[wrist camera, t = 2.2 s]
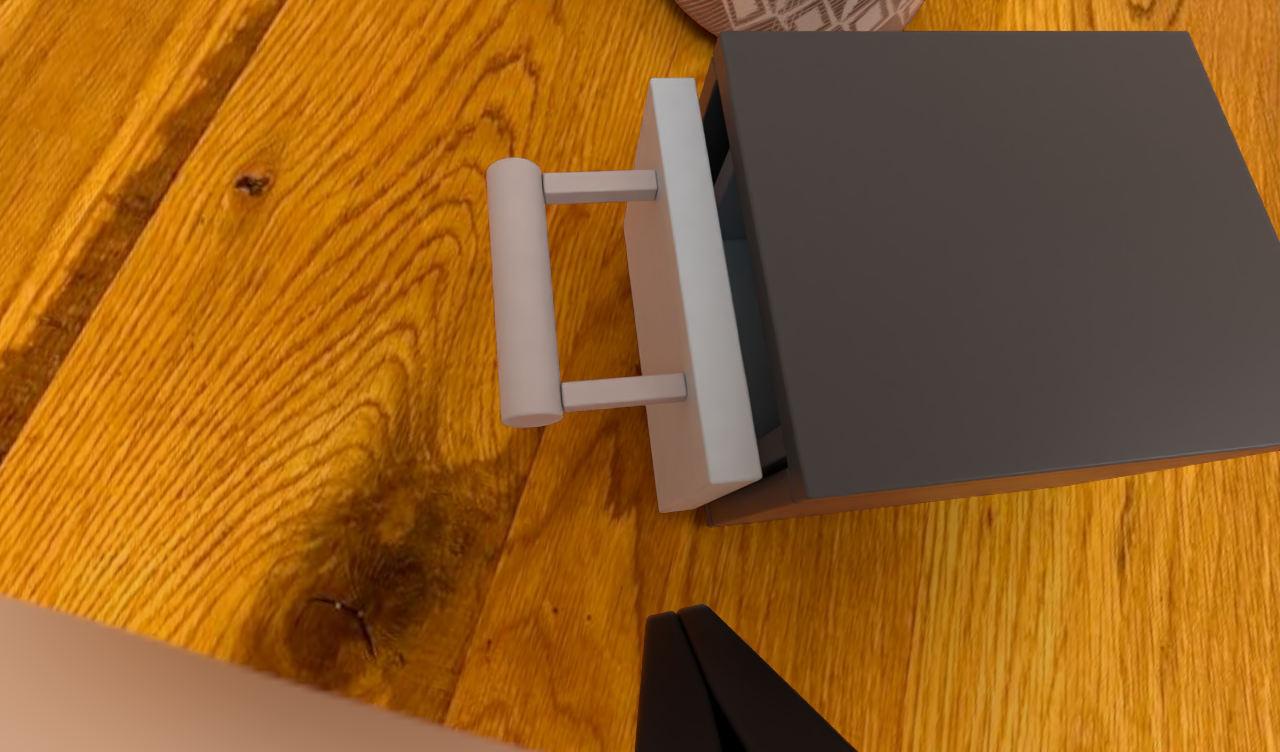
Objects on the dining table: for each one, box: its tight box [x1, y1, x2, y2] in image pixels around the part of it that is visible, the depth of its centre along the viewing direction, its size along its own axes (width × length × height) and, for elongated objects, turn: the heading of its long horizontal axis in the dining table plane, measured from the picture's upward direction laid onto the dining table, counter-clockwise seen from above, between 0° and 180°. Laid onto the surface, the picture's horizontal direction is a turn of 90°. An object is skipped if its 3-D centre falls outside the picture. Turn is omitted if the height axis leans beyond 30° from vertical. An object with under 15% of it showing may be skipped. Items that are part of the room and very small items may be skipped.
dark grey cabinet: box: [699, 31, 1280, 528], centre depth 20 cm, size 14×12×9 cm
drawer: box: [486, 78, 788, 513], centre depth 19 cm, size 17×10×7 cm, turn 97°
